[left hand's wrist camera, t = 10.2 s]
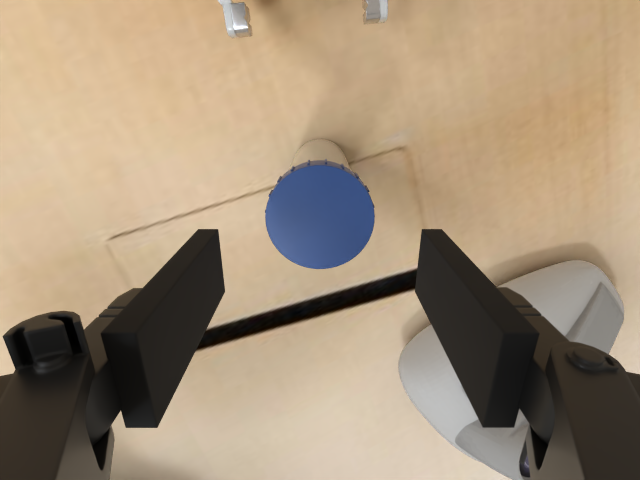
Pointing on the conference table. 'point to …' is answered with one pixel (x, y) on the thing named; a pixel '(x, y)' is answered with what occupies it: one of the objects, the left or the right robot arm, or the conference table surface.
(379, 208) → the conference table surface
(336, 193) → the lid
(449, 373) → the projector
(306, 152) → the jar
